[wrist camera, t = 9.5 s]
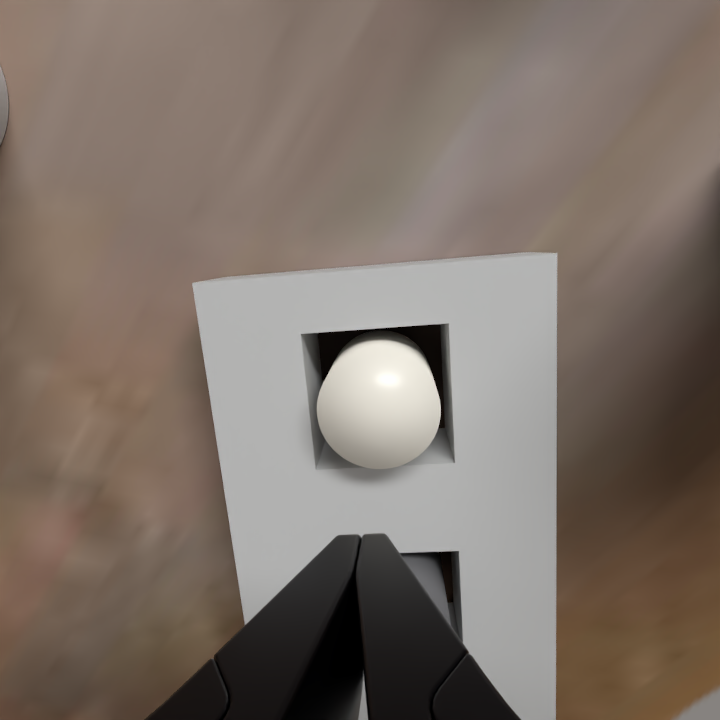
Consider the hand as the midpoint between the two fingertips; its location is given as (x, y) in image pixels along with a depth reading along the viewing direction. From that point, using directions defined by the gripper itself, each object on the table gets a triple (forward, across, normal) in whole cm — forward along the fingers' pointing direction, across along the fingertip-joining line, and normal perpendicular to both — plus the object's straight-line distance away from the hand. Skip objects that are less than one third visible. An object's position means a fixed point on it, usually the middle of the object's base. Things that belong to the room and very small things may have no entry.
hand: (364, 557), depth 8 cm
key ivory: (+12, 0, 0) cm, 12 cm away
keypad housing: (+12, 0, +8) cm, 15 cm away
